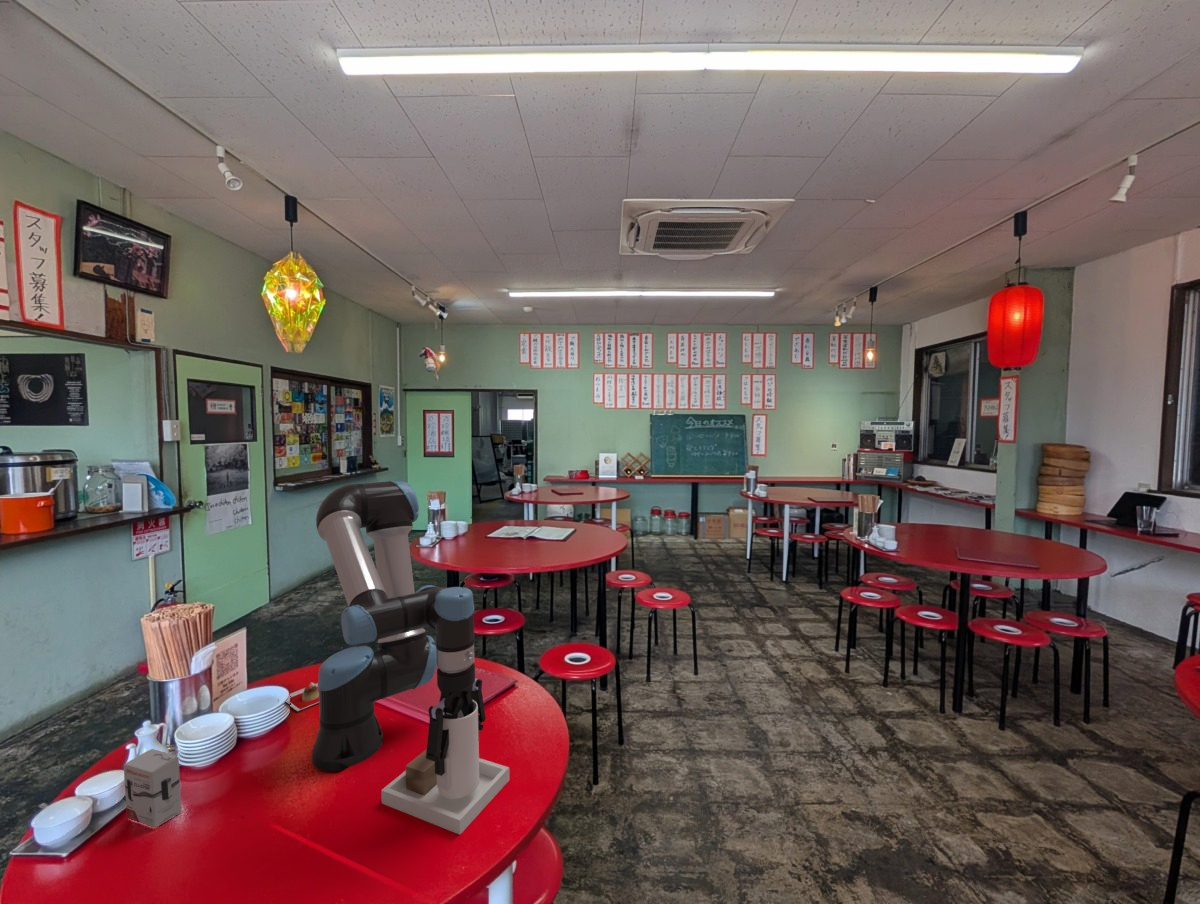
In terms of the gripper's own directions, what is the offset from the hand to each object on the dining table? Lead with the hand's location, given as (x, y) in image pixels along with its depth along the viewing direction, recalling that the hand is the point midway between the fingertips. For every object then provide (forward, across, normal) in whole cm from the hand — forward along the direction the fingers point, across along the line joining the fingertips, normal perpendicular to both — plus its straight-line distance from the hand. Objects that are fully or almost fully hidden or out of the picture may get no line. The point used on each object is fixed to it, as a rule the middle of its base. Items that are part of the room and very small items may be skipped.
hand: (458, 773), depth 102 cm
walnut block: (+5, 0, +9) cm, 10 cm away
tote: (+5, 0, +3) cm, 6 cm away
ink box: (+6, -28, +53) cm, 60 cm away
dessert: (+6, +15, +67) cm, 69 cm away
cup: (+2, 0, 0) cm, 2 cm away
